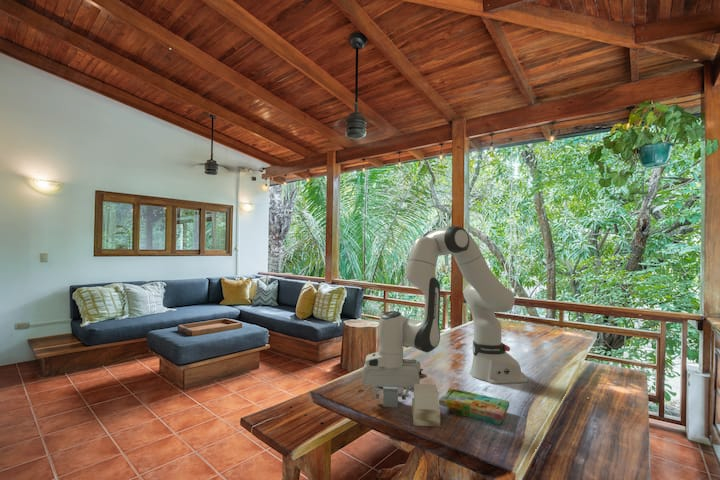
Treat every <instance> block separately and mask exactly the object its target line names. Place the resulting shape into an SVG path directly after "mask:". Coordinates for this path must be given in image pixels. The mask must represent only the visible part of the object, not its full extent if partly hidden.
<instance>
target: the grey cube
mask: <svg viewBox="0 0 720 480" xmlns="http://www.w3.org/2000/svg"><path fill="white" fill-rule="evenodd" d="M382 389H383V391H382V392H383V393H382V397H383V398H382V402H383V403H382V405H383V407H387V408H388V407H389V408H399V407H398V406H399V394H398V388H397V387H382Z"/></svg>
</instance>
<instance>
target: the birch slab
mask: <svg viewBox="0 0 720 480" xmlns="http://www.w3.org/2000/svg"><path fill="white" fill-rule="evenodd" d="M439 405H440V404H438V410H427V409H415V404H414V397H412V398H411V415H412V421H413V426H421V427H422V426H425V427H426V426H427V427H441V409H440V406H439Z"/></svg>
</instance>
